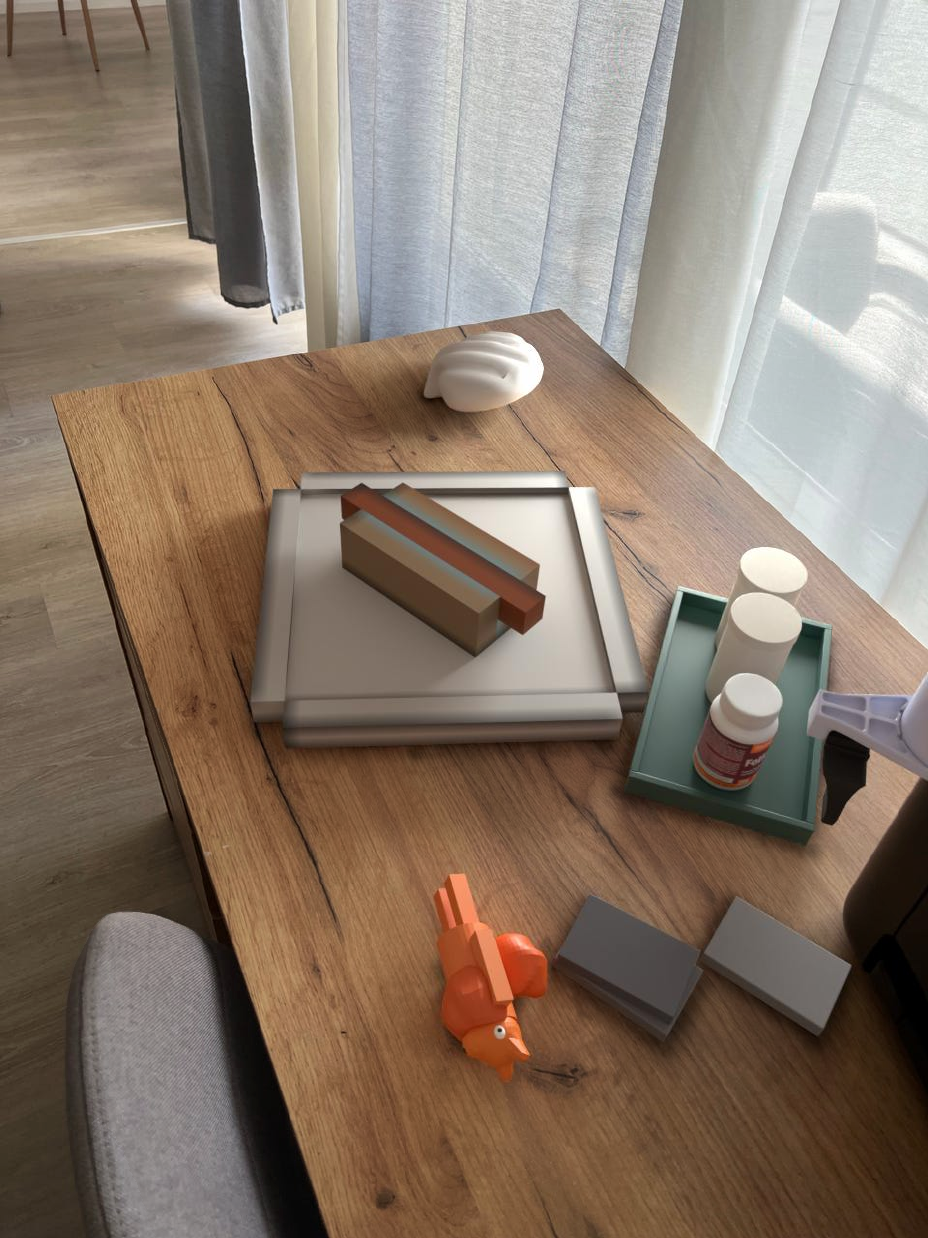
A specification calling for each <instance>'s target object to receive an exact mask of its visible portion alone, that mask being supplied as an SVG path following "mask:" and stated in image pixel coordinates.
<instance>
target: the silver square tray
mask: <svg viewBox="0 0 928 1238" xmlns="http://www.w3.org/2000/svg"><path fill="white" fill-rule="evenodd" d="M270 504H271V506H270V515H269V523H268V531H267V532H268V534H267V542H266V551H265V562H264V570H263V578H262V579H263V580H262V587H261V588H262V589H261V599H260V605H259V606H260V607H259V615H258V624H257V625H258V627H257V634H256V644H255V653H254V663H253V672H252V681H251V690H250V698H249V703H250V709H251V714H252V720H253V723H282V726H281V727H282V736H283V742H284V748H285V749H313V748H315V749H318V748H349V747H350V748H352V747H385V746H386V747H387V746H416V745H417V746H418V745H419V746H421V745H453V744H455V745H456V744H460V745H461V744H491V743H492V744H493V743H495V744H496V743H525V742H526V743H527V742H555V741H556V742H561V741H565V742H566V741H592V740H594V741H595V740H596V741H597V740H599V741H600V740H618V738H619V735H620V731H621V726H622V724H623V720H624V719H623V718H624V717H623V714H628V713H629V714H633V713H644V712H645V708H646V704H647V700H648V697H649V693H650V689H649V687H648V683H647V679H646V675H645V671H644V668H643V664H642V660H641V657H640V653H639V649H638V648H639V647H638V645H637V641H636V637H635V634H634V630H633V626H632V622H631V619H630V615H629V611H628V607H627V604H626V600H625V599H626V598H625V595H624V592H623V587H622V585H621V580H620V575H619V573H618V569H617V565H616V561H615V558H614V553H613V550H612V546H611V542H610V537H609V535H608V531H607V527H606V523H605V520H604V516H603V512H602V508H601V506H600V501H599V497H598V493H597V489H596V487H595V486H577V487H576V486H575V487H573V486H569V480H568V478H567V472H566V471H565V470H518V471H517V470H514V471H513V470H511V471H510V470H509V471H507V470H504V471H502V470H501V471H500V470H499V471H494V470H493V471H489V470H488V471H487V470H486V471H484V470H483V471H482V470H481V471H309V472H307V471H305V472H304V471H303V472H301V479H300V488H273V489H272V495H271V503H270Z"/></svg>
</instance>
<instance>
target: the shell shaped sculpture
mask: <svg viewBox="0 0 928 1238" xmlns="http://www.w3.org/2000/svg"><path fill="white" fill-rule="evenodd" d="M543 373H544V365H543V362H542V360H541V357H540V355H539V353H538V351H537V350H536V349H535V347H533V345H531V344H530V343H527V342H526V341H525V340H524V339H523V338H522V337H521V336H519V335H516V334H514V333H512V332H506V331H495V330H488V331H486V332H484V333H475V334H472V335H468V336H467V337H464V338H463V339H461V340H459V341H456V342H452V343H450V344H448V345H445V346H444V347H442V348H441V349H440V350H439V351H438V352H437V353H436V354H435V356H434V358H433V360H432V363H431V366H430V369H429V372H428V376H427V379H426V382H425V386H424V390H423V396H424V398H426V399H435V398H436V399H437V398H442V399H443V401H444V402H445V404H446V405H447V407H449V408H450V409H452V410H454V411H456V412H461V413H473V412H484V411H490V410H496V409H499V408H501V407H505V406H507V405H510V404H512V403H514V402H516V401H518V400H519V399H521V398H524V397H526V395H528V394H529V393H530V392H532V391H533V390H534V389H535V388H536V387H537V385H539V384H540V382H541V379H542V377H543Z"/></svg>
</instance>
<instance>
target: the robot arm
mask: <svg viewBox="0 0 928 1238" xmlns="http://www.w3.org/2000/svg"><path fill="white" fill-rule="evenodd" d="M807 735H808V736H811V737H814V738H818V739H822V741H823V742H822V753H821V765H822V767H821V768H822V775H823V778H824V781H825V785H826V787H825V790H824V793H823V795H822V800H821V811H820V822H821V824H825V825H827V826H831V827H832V826H834V825H835V824H836V823H838V820H839V819H840V817H841V815H842V813H843V811H844V809H845V806H846V805H847V803H848V802H849V801H850V800H851V799H852V797H854V795H856V793H858V792H859V791H860V790H862V789H863V788H865V787H866V786H867V772H868V771H867V770H868V769H867V768H868V761H869V760H870V758H871V751H873V752H875V753H876V754H879V755H880V756H882V757H883V758H886V759H887V760H889V761H890V762H893V763H895V764H896V765H898V766H899V767H902V768H903V769H905V770H907V771H909V772H911V773H913V774H914V775H916V776H917V777H920V778H921V779H923V780H925V781H927V782H928V672H926V674H925V676H924V678H923V679H922V681H921V683H919V686H918V688H917V689H916V691H915V692H914V694H855V693H853V694H852V693H840V692H834V691H829V690H827V691H825V690H821V689H820V690H819V691H818V693H817V695H816V697H815V699H814V701H813V703H812V705H811V707H810V709H809V716H808V724H807Z"/></svg>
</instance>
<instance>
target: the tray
mask: <svg viewBox="0 0 928 1238" xmlns="http://www.w3.org/2000/svg"><path fill="white" fill-rule="evenodd" d="M728 599H729V598H727V597H723V596H720V595H715V594H711V593H707V592H704V591H699V590H696V589H691V588H687V587H684V586H680V585H677V587H676V591H675V594H674V597H673V601H672V605H671V609H670V612H669V615H668V620H667V624H666V628H665V631H664V634H663V640H662V643H661V647H660V651H659V653H658V654H659V655H658V658H657V662H656V666H655V670H654V673H653V674H654V675H653V678H652V682H651V686H650V689H649V693H648V697H647V700H646V704H645V707H644V711H643V716H642V720H641V723H640V728H639V732H638V736H637V738H636V743H635V747H634V750H633V755H632V758H631V763H630V766H629V770H628V774H627V778H626V782H625V785H624V790H623V792H624V793H627V794H630V795H634V796H637V797H640V798H643V799H647V800H650V801H653V802H656V803H660V804H664V805H666V806H670V807H674V808H677V809H680V810H684V811H687V812H690V813H693V814H697V815H700V816H704V817H707V818H710V819H713V820H717V821H720V822H723V823H727V824H730V825H732V826H733V825H734V826H736V827H739V828H743V829H747V830H750V831H753V832H757V833H759V834H763V835H766V836H770V837H772V838H777V839H780V840H783V841H786V842H790V843H793V844H796V845H799V846H803V847H807V845H808V842H810V840H811V838H812V836H813V834H814V833H815V828H816V826H815V825H816V815H817V807H818V805H817V804H818V793H819V784H820V770H821V762H822V751H823V740H822V739H818V738H814V737H811V736H808V735H807V724H808V716H809V709H810V707H811V705H812V703H813V701H814V699H815V697H816V695H817V693H818V691H819V690H820V689H821V690H825V691H828V680H829V670H830V658H831V646H832V635H833V625H831V624H828V623H824V622H819V621H816V620H812V619H809V618H805V617H801V616H800V618H801V621H802V629H801V631H800V634H799V636H798V638H797V641H796V642H795V644H794V645H793V646H792V648H791V651H790V653H789V655H788V658H787V660H786V662H785V664H784V667H783V669H782V671H781V674H780V676H779V678H778V680H777V683H776V685H775V686H776V687H777V688H778V690H779V691H780V693H781V695H782V700H783V702H782V707H781V710H780V712H779V715H778V729H777V733H776V735H775V736H774V738H773V741H772V743H771V744H770V747H769V749H768V751H767V754H766V756H765V758H764V760H763V762H762V764H761V766H760V768H759V770H758V772H757V774H756V777H755V779H754V780H753V782H752V783H751V784H750V785H748V786H747V787H745V788H743V789H739V790H723V789H719V788H716V787H714V786H712V785H711V784H709V783H708V782H706V781H705V780H704V779H703V778H702V777H701V776H700V775H699V774H698V772H697V770H696V768H695V766H694V761H693V756H694V751H695V748H696V746H697V743H698V740H699V737H700V735H701V732H702V729H703V727H704V724H705V722H706V719H707V716H708V714H709V710H710V708H711V705H712V703H711V702H710V700H709V699H708V697H707V694H706V691H705V684H706V681H707V678H708V675H709V672H710V670H711V667H712V664H713V661H714V658H715V655H716V653H717V648H716V645H715V636H716V633H717V630H718V627H719V625H720V622H721V619H722V616H723V613H724V610H725V607H726V605H727V602H728Z"/></svg>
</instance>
